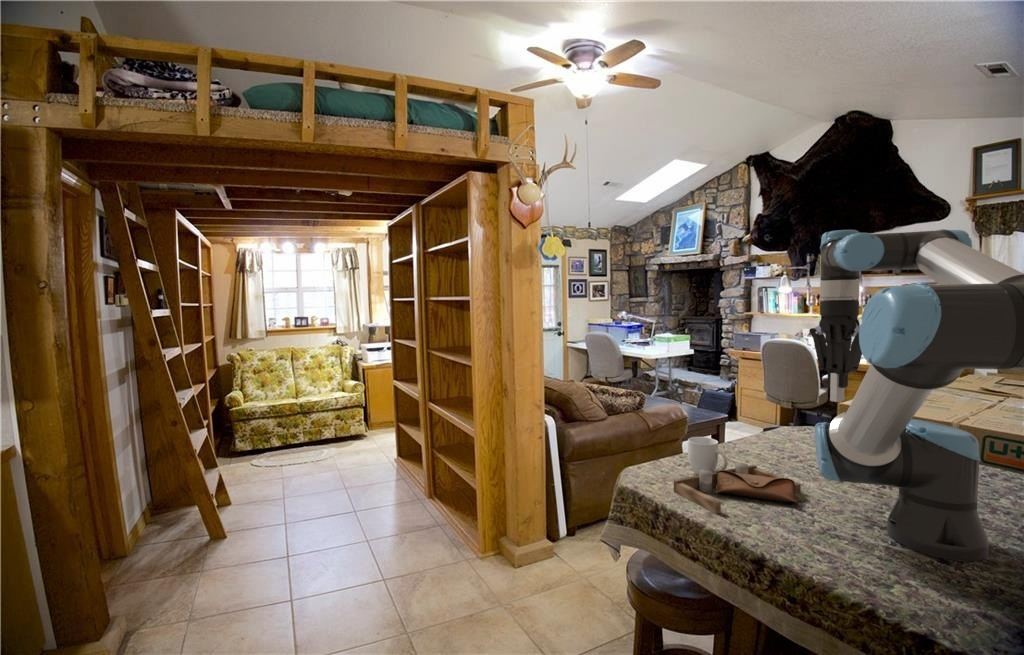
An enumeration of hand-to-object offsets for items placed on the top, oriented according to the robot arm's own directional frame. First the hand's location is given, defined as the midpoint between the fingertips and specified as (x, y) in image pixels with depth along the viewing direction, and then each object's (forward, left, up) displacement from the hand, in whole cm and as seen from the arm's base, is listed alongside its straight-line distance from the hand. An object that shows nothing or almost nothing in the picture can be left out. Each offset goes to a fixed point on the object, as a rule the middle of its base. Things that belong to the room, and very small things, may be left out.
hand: (837, 400), depth 113 cm
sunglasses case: (+10, +14, -25) cm, 31 cm away
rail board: (+14, +16, -24) cm, 32 cm away
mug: (+27, +13, -25) cm, 39 cm away
